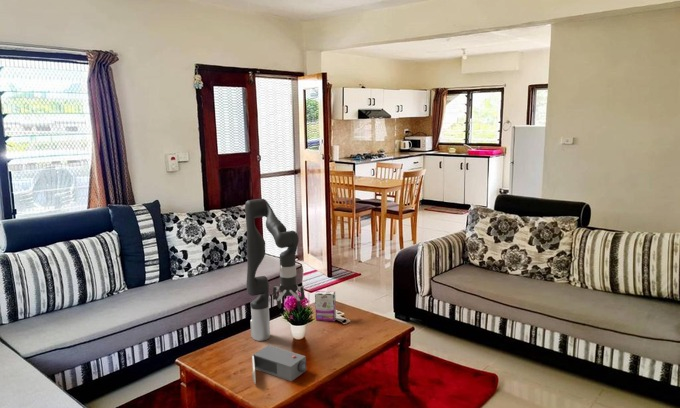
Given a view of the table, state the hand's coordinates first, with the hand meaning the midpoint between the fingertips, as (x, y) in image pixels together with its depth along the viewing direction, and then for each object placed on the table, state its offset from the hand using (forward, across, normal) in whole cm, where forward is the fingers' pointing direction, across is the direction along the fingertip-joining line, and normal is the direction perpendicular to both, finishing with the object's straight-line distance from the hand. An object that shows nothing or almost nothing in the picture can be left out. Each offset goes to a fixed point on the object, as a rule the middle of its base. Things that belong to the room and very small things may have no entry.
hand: (289, 307), depth 222 cm
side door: (+27, -15, -12) cm, 33 cm away
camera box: (+28, -4, -6) cm, 29 cm away
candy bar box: (+29, +12, +50) cm, 59 cm away
